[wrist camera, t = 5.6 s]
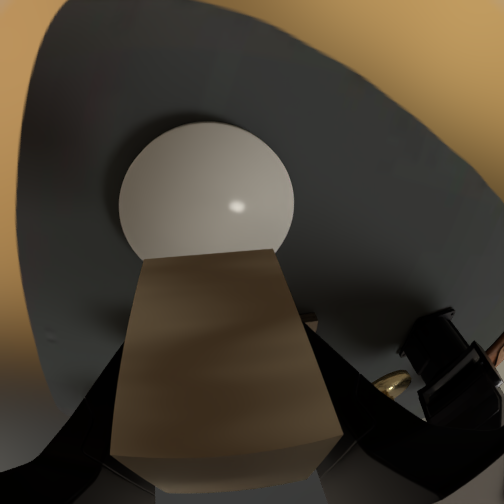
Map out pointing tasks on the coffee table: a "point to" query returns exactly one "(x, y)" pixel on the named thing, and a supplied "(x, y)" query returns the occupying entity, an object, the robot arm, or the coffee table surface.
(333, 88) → the coffee table surface
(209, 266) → the block
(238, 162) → the dish
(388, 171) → the coffee table surface
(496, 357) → the sunglasses case
